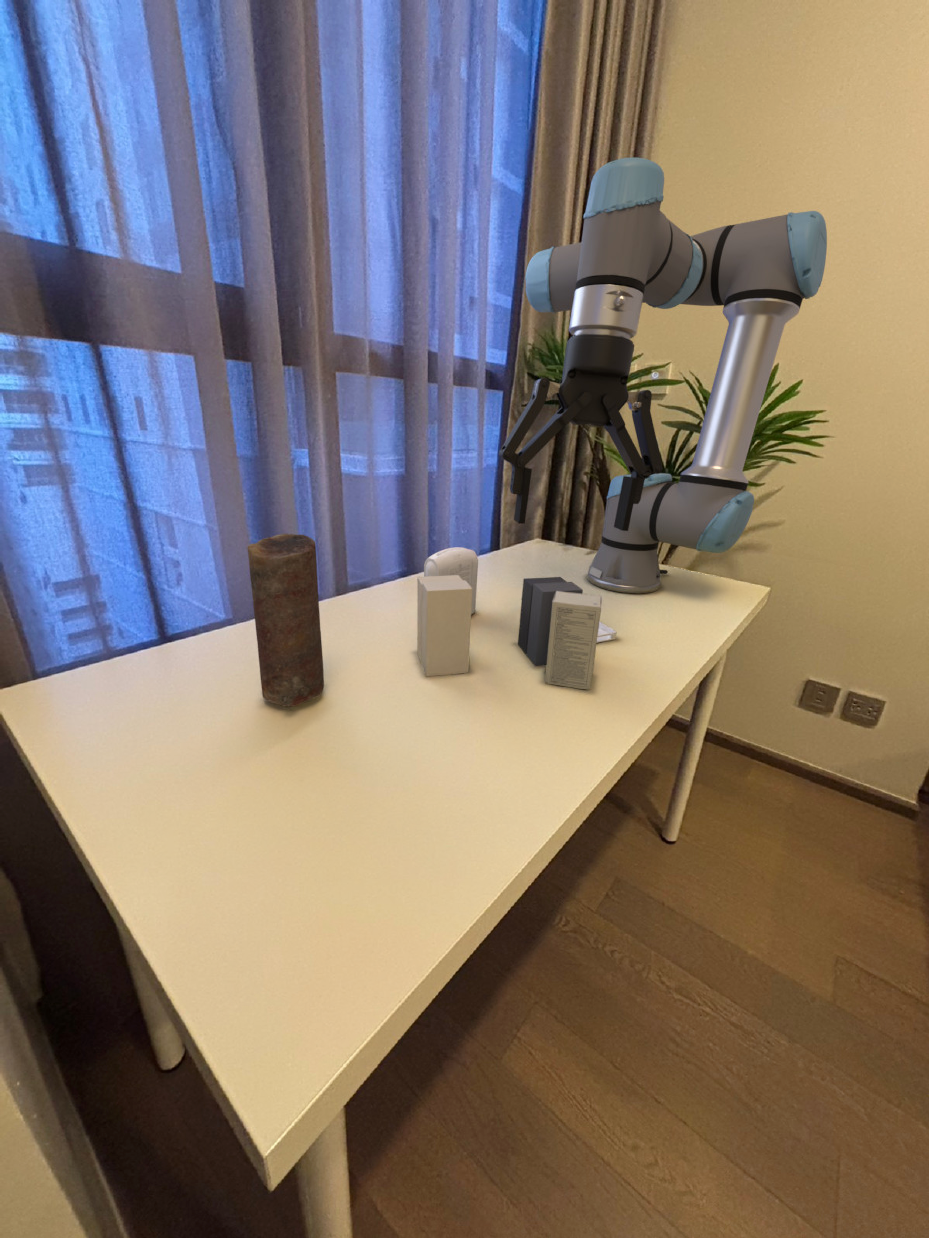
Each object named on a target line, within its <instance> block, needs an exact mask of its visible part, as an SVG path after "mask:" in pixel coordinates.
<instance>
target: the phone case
mask: <svg viewBox="0 0 929 1238" xmlns="http://www.w3.org/2000/svg"><path fill="white" fill-rule="evenodd" d="M616 637H617V631H616V630H615V629H613V628H612V627H610V626H608V625H606V624H604V623H603V622H601V621H599V628H598V636H597V643H598V644H599V643H603V642H608V641H612V640H613V641H614V640H616ZM597 643H596V644H597Z"/></svg>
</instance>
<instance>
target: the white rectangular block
mask: <svg viewBox="0 0 929 1238" xmlns="http://www.w3.org/2000/svg"><path fill="white" fill-rule="evenodd" d="M416 589H417V599H416V601H417V602H416V603H417V609H416V611H417V614H416V615H417V619H416V620H417V625H416V631H417V632H416V634H417V635H416V637H417V639H416V640H417V641H416V643H417V644H416V645H417V646H416V647H417V649H416V651H417V656H418V658H419V661H420V664H421V666H422V669H423V672H424V674H425V676H426V677H436V676H447V675H448V676H449V675H456V674H457V675H458V674H467V673H469V666H470V648H471V646H470V645H471V625H472V624H471V623H472V614H471V606H472V588H471V586H470V585H469V584H468V583H467V581H466V580H462V579H461V578H460V576H459V575H450V576H427V577H424V576H417V588H416Z"/></svg>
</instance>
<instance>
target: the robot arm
mask: <svg viewBox="0 0 929 1238" xmlns="http://www.w3.org/2000/svg"><path fill="white" fill-rule="evenodd" d="M664 185H665V171H664V170H663V169H662V167H661V165H659V164H658V163H656V161H653V160H650V159H647V158H644V157H622V158H618V159H615V160H612V161H609V162H607V163H605V164H604V165H602V166H601V167H599V168H598V169H597V171H596V172H595V174H594V175H593V176H592V179H591V183H590V187H589V192H588V197H587V202H586V206H585V212H584V214H583V229H582V235H581V241H580V242H576V243H571V244H566V245H561V246H551V247H550V248H547V249H543V250H540V251H537V252H536V253H535V254H534V255H533V256H532V257H531V259H530V260H529V262H528V265H527V268H526V271H525V278H524V279H525V295H526V297H527V300H528V303H529V304H530V306H531V307H532V309H534V310H535V311H537V312H538V313H552V314H556V313H559V312H560V313H562V312H569V311H571V313H570V319H569V326H568V332H569V333H570V334H571V335H572V336H571V337H570V338H569V339H568V340H567V341H566V348H565V355H564V361H563V369H562V376H561V380H560V381H559V382H554V381H552V380H550V379H549V378H548V377H542V378H539V379H537V380H535V381H534V382H533V383H534V384H533V387H532V391H531V396H530V399H529V401H528V403H527V404H526V406H525V408H524V409H523V411H522V413H521V415H520V416H519V418H518V419H517V421H516V423H515V424H514V426H513V427H512V429H511V431H510V432H509V435H508V436H507V438H506V439H505V441H504V443H503V444H502V446H501V448H500V449H499V451H498V457H499V458H500V460H501V459H502V460H504V461H506V462H507V463H509V464H510V465H511V475H510V476H511V477H510V483H509V484H510V485H509V491H510V493H511V494H512V495H516V498H515V506H514V507H515V508H514V516H513V521H515V522H516V523H517V524H522V525H525V524H526V519H527V518H526V517H527V509H528V501H529V495H530V487H531V479H532V471H533V469H532V468H530V467H526V466H527V465H528V464H529V463H530V461H531V460H532V459H533V458H534V457H535V456H537V454H538V453H540V451H542V450H543V449H544V448H545V446H546V445H547V444H548V443H549V442H550V441H551V440H552V439H553V438H554V437H555V436H556V435H557V434H558V433H559V432H560V431H561V430H563V428H564V427H565V426H567V425H568V424H569V423H570V424H571V425H573V426H574V425H575V426H589V427H594V428H603V429H604V430H605V431H606V432H607V433H608V434H609V436H610V439H611V441H612V442H613V444H614V446H615V448H616V450H617V451H618V453H619V455H620V457H621V459H622V461H623V463H624V465H625V466H626V468H627V470H628V472H629V474H621V475H617V476H615V477H614V478H612V479H611V481H610V484H609V488H608V492H607V495H606V504H605V512H604V520H603V526H602V534H601V541H600V545H599V547H598V549H597V551H596V553H595V556H594V558H593V560H592V562H591V564H590V565H589V567H588V570H587V576H586V577H587V580H588V582H589V583H591V584H592V585H594V586H596V587H599V588H600V589H604V590H609V591H613V592H617V593H623V594H647V593H654V592H656V591H657V590H659V589H660V585H661V580H662V579H661V577H662V576H661V575H667V574H668V569H660V562H659V555H658V548H659V543H664V544H668V545H673V546H678V547H683V548H687V549H692V550H696V551H697V552H705V553H713V554H722V553H725V552H727V551H729V550H730V549H732V547H734V545H735V544H736V543H737V542H738V541H739V540H740V538H741V536H742V535H743V533H744V531H745V530H746V528H747V525H748V524H749V521H750V519H751V516H752V513H753V510H754V503H755V496H754V494H753V493H751V492H750V491H748V490H747V489H748V485H749V479H748V478H747V477H746V475H745V474H744V471H743V470H744V467H745V463H746V460H747V456H748V453H749V450H750V449H749V448H750V446H751V443H752V439H753V436H754V431H755V428H756V424H757V422H758V418H759V414H760V411H761V407H762V405H763V401H764V398H765V394H766V391H767V388H768V383H769V380H770V376H771V373H772V371H773V366H774V362H775V360H776V356H777V353H778V349H779V346H780V343H781V340H782V336H783V332H784V329H785V326H786V324H787V323H788V322H789V321H791V320H792V319H794V318H796V316H798V315H799V313H800V309H801V306H802V302H803V300H804V299H805V300H809V299H810V298H813V297H815V296H816V295H817V294H818V292H819V289H820V287H821V285H822V282H823V277H824V272H825V267H826V262H827V261H826V260H827V250H828V249H827V248H828V232H827V231H828V230H827V223H826V220H825V217H824V216H823V214H822V213H821V212H819V211H817V210H808V211H800V212H799V211H798V212H792V211H791V212H788V213H786V214H782V215H777V216H771V217H767V218H761V219H756V220H750V221H746V222H741V223H736V224H729V225H723V226H720V227H716V228H712V229H709V230H705V231H702V232H699V233H697V234H693V235H689V233H687V232H686V231H684V230H682V229H681V228H680V227H679V226H678V225H676V223H674V222H673V221H671V220H670V219H669V218H668V217H667V216H666V214H665V213H664V212H663V211H662V210H661V204H662V202H663V201H664V190H665V189H664V188H665V187H664ZM643 304H646V305H648V306H649V307H652V308H654V309H655V308H657V309H661V310H669V309H673V308H675V307H677V306H679V305H686V306H688V305H689V306H699V307H701V306H702V307H717V306H718V307H719V306H721V307H722V306H723V309H722V315H723V316H724V317H725V319H726V320H727V322H728V324H727V325H728V326H727V329H726V333H725V337H724V340H723V343H722V344H723V345H722V348H721V351H720V356H719V359H718V364H717V368H716V372H715V376H714V379H713V383H712V386H711V391H710V395H709V398H708V402H707V406H706V409H705V413H704V417H703V421H702V425H701V429H700V433H699V437H698V440H697V445H696V448H695V451H694V456H693V460H692V462H691V463H692V464H691V465H689V467H687V468H686V469H685V470H684V471H682V472H681V473H680V476H679V480H678V482H672V481H673V477H672V474H671V473H664V472H663V463H662V458H661V453H660V448H659V444H658V440H657V435H656V431H655V426H654V422H653V418H652V413H651V407H652V398H653V394H652V391H651V390H650V389H644V390H638V391H628V380H629V377H630V372H631V367H632V362H633V356H634V351H635V344H634V342H633V340H631V339H633V338H634V337H635V336H637V333H638V327H639V323H640V317H641V312H642V306H643ZM554 395H556V397H557V400H558V402H559V404H560V406H561V407H560V408H559V409H558V410H557V411H556V412H555V413H554V414H553V415H552V416H551V418H550V419H549V420H548V422H546V424H545V425H544V426H542V428H540V430H539V431H538V432H537V433H536V434H534V436H533V437H532V438H531V439H530V440H529V441H528V442H527V443H526V444H525V445H524V446H523V447H522V448H521V449H520V450H519V451H518V452H517V450H518V448H519V447H520V445H521V443H522V442H523V440H524V439H525V437H526V435H527V434H528V432H529V430H530V429H531V427H532V425H533V424H534V422H535V420H536V419H537V418H538V416H539V414H540V413H541V410H542V409H543V407H544V406H545V403H546V402H548V401H550V400H552V398H553V396H554ZM626 403H627V406H628V409H629V411H631V417H632V422H633V426H634V431H635V435H636V440H637V444H638V448H639V450H638V448H637V447H636V445H635V443H634V441H633V438H631V435H630V433H629V431H628V430H627V428H626V422H625V420H624V418H623V416H622V414H621V412H620V410H621V409H622V408H623V407H624V406H625V405H626ZM516 452H517V453H516ZM639 452H640V453H639Z"/></svg>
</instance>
